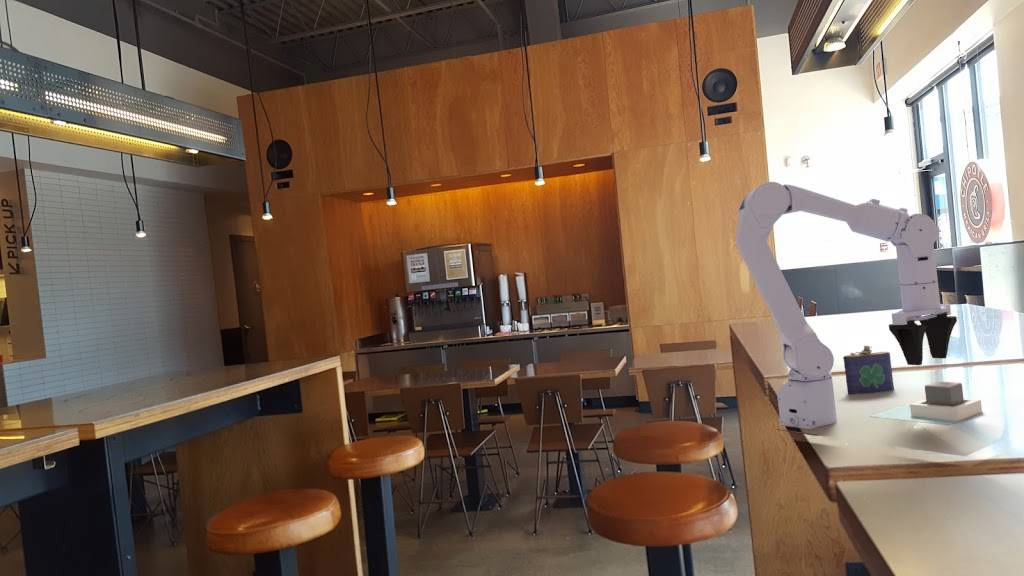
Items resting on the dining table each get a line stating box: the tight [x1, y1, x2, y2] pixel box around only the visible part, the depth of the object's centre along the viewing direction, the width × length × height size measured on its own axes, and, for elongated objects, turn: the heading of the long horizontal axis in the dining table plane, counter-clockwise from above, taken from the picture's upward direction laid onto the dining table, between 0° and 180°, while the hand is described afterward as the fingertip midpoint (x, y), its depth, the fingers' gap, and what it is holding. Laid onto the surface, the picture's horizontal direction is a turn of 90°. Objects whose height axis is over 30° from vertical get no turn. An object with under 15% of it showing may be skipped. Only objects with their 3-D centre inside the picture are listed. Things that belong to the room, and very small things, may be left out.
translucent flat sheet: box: [869, 404, 983, 426], centre depth 118 cm, size 11×13×1 cm
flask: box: [843, 345, 895, 395], centre depth 142 cm, size 9×3×11 cm, turn 87°
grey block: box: [924, 380, 965, 407], centre depth 117 cm, size 4×4×5 cm
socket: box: [909, 398, 983, 422], centre depth 117 cm, size 8×8×2 cm
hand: (927, 361), depth 120 cm, fingers open, 7 cm apart
